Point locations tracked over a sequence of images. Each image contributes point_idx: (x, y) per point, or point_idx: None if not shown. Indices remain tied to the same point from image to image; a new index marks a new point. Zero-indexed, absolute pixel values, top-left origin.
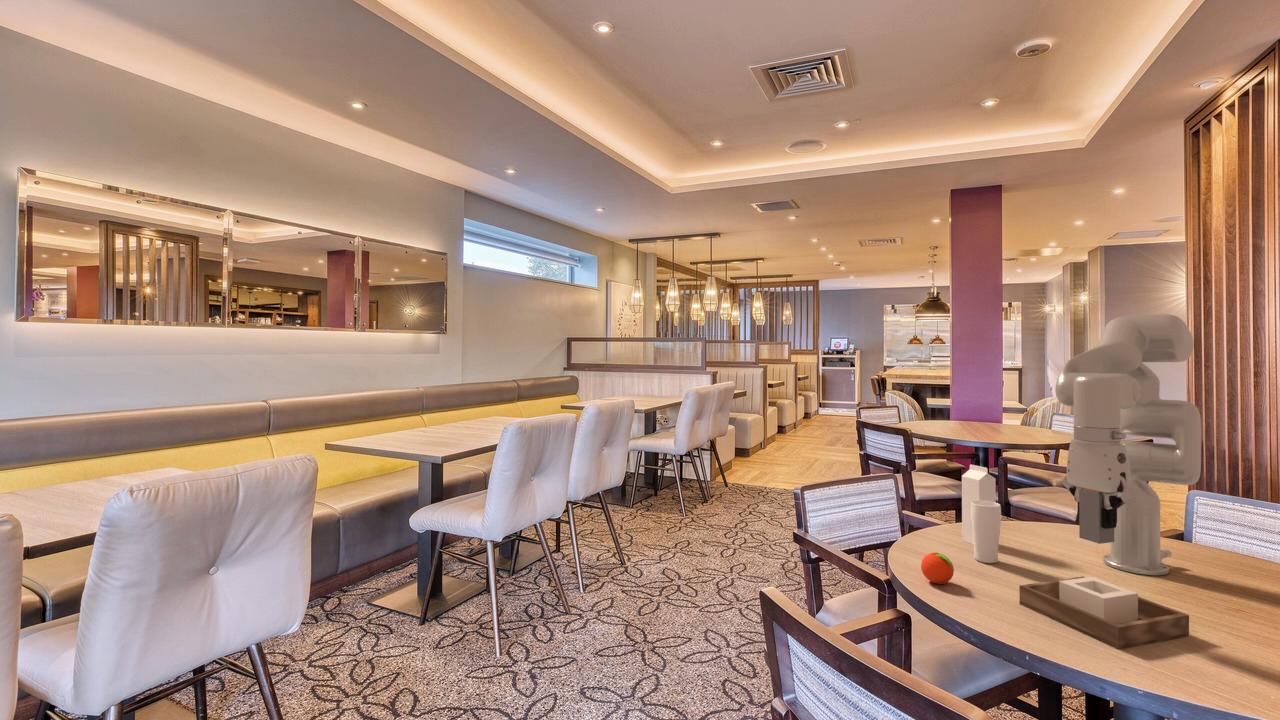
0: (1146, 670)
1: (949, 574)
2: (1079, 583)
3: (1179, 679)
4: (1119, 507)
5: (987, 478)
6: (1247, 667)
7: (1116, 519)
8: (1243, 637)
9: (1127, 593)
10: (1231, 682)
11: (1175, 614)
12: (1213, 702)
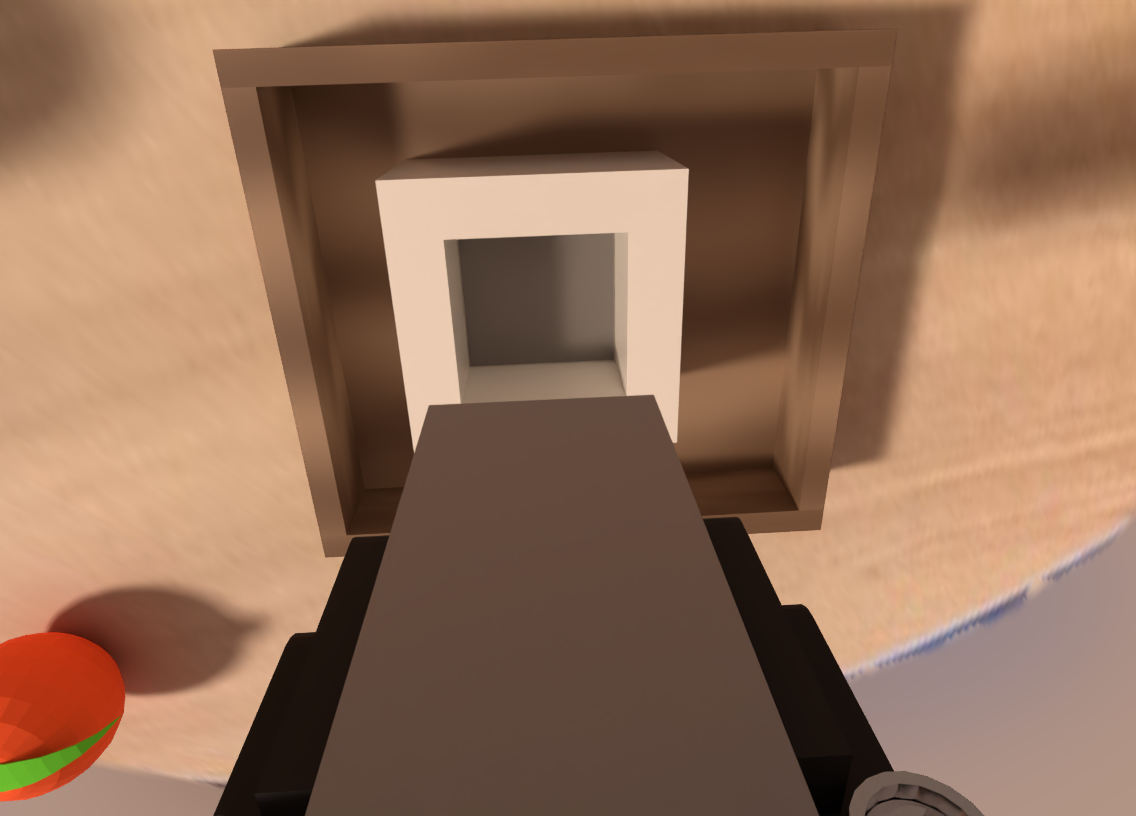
0: (912, 519)
1: (112, 697)
2: (456, 362)
3: (993, 476)
4: (960, 811)
5: None
6: (1103, 125)
7: (823, 650)
8: None
9: (670, 242)
10: (1099, 330)
11: (855, 105)
12: (1101, 510)
